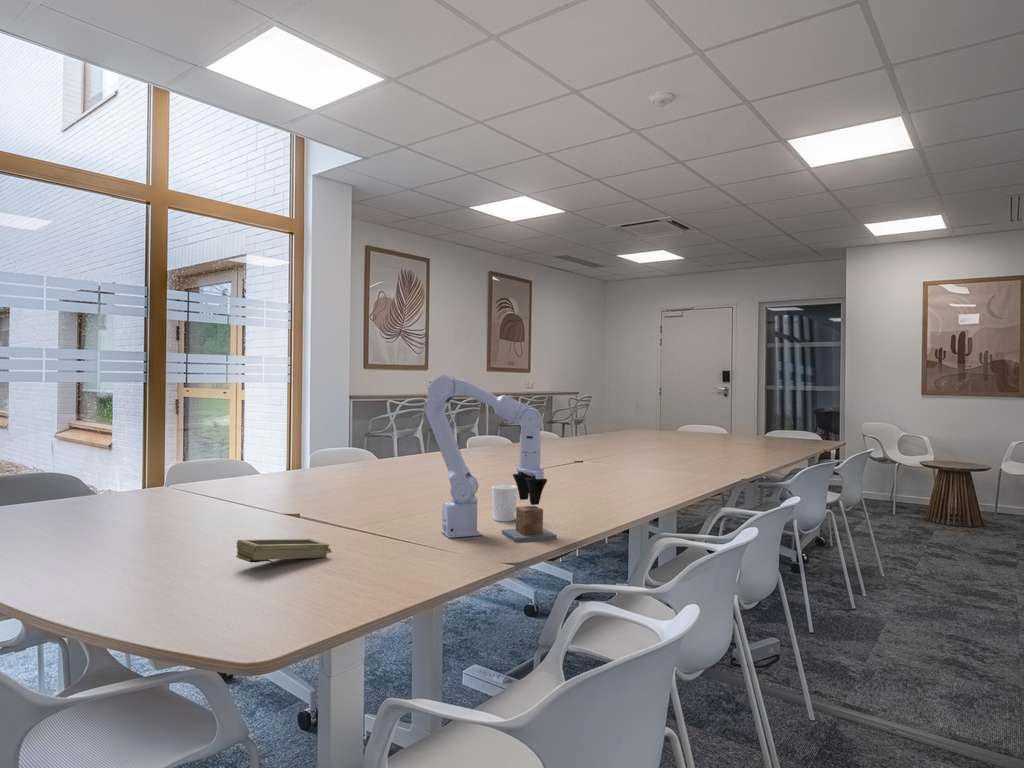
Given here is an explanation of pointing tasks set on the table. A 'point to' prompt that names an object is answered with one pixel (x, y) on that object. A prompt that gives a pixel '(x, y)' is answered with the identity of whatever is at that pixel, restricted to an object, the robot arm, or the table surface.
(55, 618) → the table surface
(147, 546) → the table surface
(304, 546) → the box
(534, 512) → the sliding lid crate
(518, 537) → the post base
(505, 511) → the white cup
